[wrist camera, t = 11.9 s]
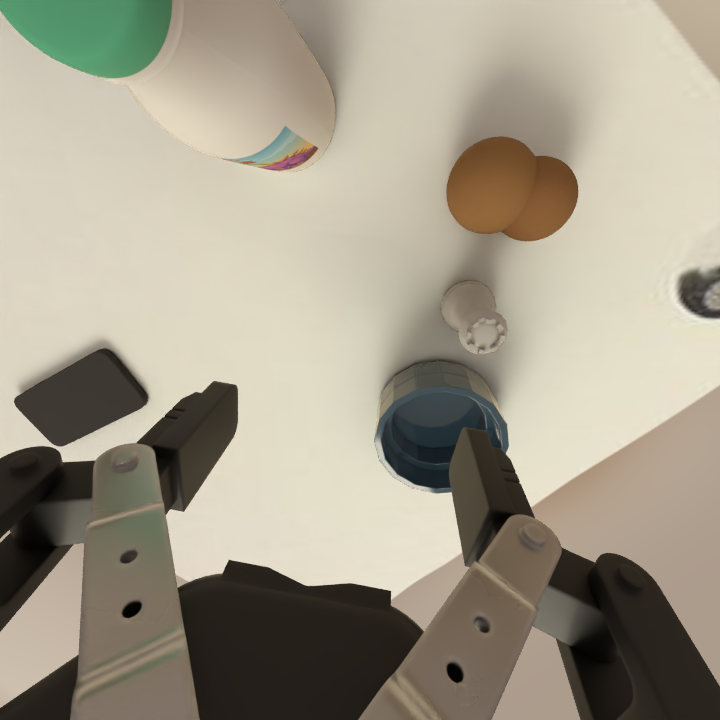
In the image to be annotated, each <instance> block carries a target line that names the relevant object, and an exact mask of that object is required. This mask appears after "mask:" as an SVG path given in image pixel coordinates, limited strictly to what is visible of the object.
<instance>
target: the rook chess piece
mask: <svg viewBox="0 0 720 720" xmlns="http://www.w3.org/2000/svg"><path fill="white" fill-rule="evenodd" d="M495 309H496V304H495V299H494V296H493V294H492V293H491V291H490V290H489V289H488V287H487V286H485V285H483V284H482V283H480V282H478V281H464V282H460V283H457V284H455V285H454V286H453V287H452V288H450V289H449V290H448V291H447V293H446V294H445V296H444V297H443V299H442V305H441V311H442V315H443V318H444V320H445V321H446V323H447V324H448V325H449V326H450V328H452V329H453V330H455V331H457V332H459V334H458V335H459V339H460V343H461V344H462V345H463V346H464V348H465V349H466V350H468V351H470V352H472V353H477V354H485V355H486V353H489V352H495V351H496V350H498V349H499V347H500V346H501V344H502V343H503V342H504V340H505V339H506V335H507V325H506V321H505V320H504V319H503V317H502V316H501V315H500V314H498V313H496V312H495Z"/></svg>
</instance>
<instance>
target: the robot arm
mask: <svg viewBox="0 0 720 720" xmlns="http://www.w3.org/2000/svg"><path fill="white" fill-rule="evenodd" d="M237 423H238V389H237V386H236V385H233V384H228V383H222V382H217V381H214V382H212V383H211V384H210V385H209V386H208V387H207V388H206V389H205V390H204V391H203V392H202V393H198V392H195V393H193V394H191V395H189V396H187V397H185V398H183V399H181V400H180V401H179V402H178V403H177V404H176V405H175V406H174V407H173V409H172V410H170V411H169V412H168V413H167V414H166V415H165V417H163V418H162V419H161V420H160V421H159V422H157V423H156V424H155V425H154V426H153V427H152V428H151V429H150V430H149V431H148V432H147V433H146V434H145V435H144V436H143V437H142V438H141V439H140V440H139V441H138V442H137V443H132V444H124V445H120V446H117V447H114V448H112V449H110V450H108V451H106V452H104V453H103V454H102V455H101V456H99V457H98V458H97V460H96V461H81V462H62V458H61V454H60V452H59V451H58V450H56V449H54V448H51V447H45V446H39V447H30V448H25V449H22V450H18V451H15V452H13V453H10V454H8V455H6V456H4V457H2V458H1V459H0V538H1V537H2V536H3V535H4V534H5V533H6V532H7V531H9V530H10V532H11V533H10V534H9V535H8V536H7V537H6V538H5V539H4V540H3V541H2V542H1V543H0V631H1V630H2V629H3V628H4V627H5V626H6V624H7V623H8V622H9V621H10V620H11V618H12V617H13V616H14V615H15V614H16V612H17V611H18V610H19V609H20V608H21V606H22V605H23V604H24V603H25V602H26V601H27V599H28V598H29V597H30V596H31V595H32V593H33V592H34V591H35V590H36V589H37V587H38V586H39V585H40V584H41V583H42V582H43V580H44V579H45V578H46V577H47V576H48V574H49V573H50V572H51V571H52V570H53V568H54V567H55V566H56V565H57V564H58V562H59V561H60V560H61V559H62V558H63V556H64V555H65V554H66V553H67V552H68V551H69V549H70V548H71V547H72V546H73V545H74V544H80V543H84V561H83V581H82V601H81V621H80V639H79V655H77V656H76V657H75V658H73V659H72V660H70V661H69V662H67V663H66V664H64V665H63V666H61V667H60V668H58V669H57V670H55V671H54V672H52V673H51V674H49V676H47V677H45V678H44V679H42V680H41V681H39V682H38V683H36V684H35V685H33V686H32V687H30V688H29V689H28V690H26V691H25V692H23V693H22V694H20V695H19V696H17V697H16V698H14V699H13V700H11V701H10V702H9V703H7V704H6V705H4V706H3V707H1V708H0V720H491V719H492V717H493V715H494V712H495V710H496V708H497V706H498V703H499V701H500V699H501V696H502V694H503V692H504V690H505V687H506V685H507V683H508V680H509V678H510V676H511V674H512V671H513V669H514V667H515V664H516V662H517V660H518V657H519V655H520V653H521V651H522V649H523V646H524V644H525V641H526V639H527V637H528V635H529V633H530V630H531V628H532V626H533V627H535V628H537V629H539V630H541V631H543V632H545V633H547V634H549V635H551V636H552V637H554V638H556V640H557V644H558V647H559V650H560V653H561V657H562V660H563V663H564V667H565V670H566V673H567V676H568V680H569V683H570V686H571V690H572V693H573V696H574V700H575V703H576V706H577V709H578V713H579V716H580V719H581V720H720V686H719V685H718V683H717V681H716V680H715V678H714V676H713V675H712V673H711V671H710V670H709V668H708V666H707V665H706V663H705V661H704V660H703V658H702V657H701V655H700V653H699V652H698V650H697V648H696V647H695V645H694V643H693V642H692V640H691V638H690V637H689V635H688V633H687V632H686V630H685V629H684V627H683V625H682V624H681V622H680V620H679V619H678V617H677V615H676V614H675V612H674V611H673V609H672V607H671V605H670V604H669V602H668V601H667V599H666V597H665V596H664V594H663V593H662V591H661V589H660V587H659V586H658V585H657V583H656V582H655V580H654V579H653V578H652V577H651V576H650V575H649V574H648V573H647V572H646V571H645V570H644V569H643V568H641V567H640V566H639V565H637V564H636V563H634V562H633V561H631V560H629V559H627V558H625V557H623V556H620V555H617V554H612V553H605V554H602V555H600V556H599V558H598V559H597V560H596V562H595V563H594V562H592V561H590V560H588V559H585V558H583V557H581V556H579V555H576V554H574V553H572V552H570V551H568V550H566V549H563V548H562V547H561V544H560V542H559V540H558V538H557V536H556V535H555V534H554V533H553V531H552V530H551V529H550V528H548V527H547V526H546V525H545V524H543V523H542V522H540V521H538V520H537V519H535V517H534V515H533V512H532V510H531V507H530V505H529V503H528V500H527V498H526V495H525V493H524V491H523V488H522V486H521V484H519V482H520V481H519V479H518V476H517V474H515V469H514V467H513V465H512V462H511V460H510V459H509V458H508V456H507V455H506V454H505V453H504V452H503V451H502V450H501V449H500V448H496V447H493V446H492V444H491V441H490V438H489V436H488V433H487V431H484V430H478V429H473V428H467V427H464V428H463V429H462V430H461V433H460V436H459V439H458V442H457V445H456V448H455V451H454V453H453V456H452V459H451V463H450V469H449V479H450V485H451V491H452V496H453V502H454V507H455V513H456V518H457V524H458V530H459V535H460V541H461V546H462V552H463V557H464V563H465V566H468V567H470V568H469V569H468V571H467V572H466V574H465V575H464V576H463V578H462V579H461V581H460V582H459V584H458V585H457V586H456V588H455V589H454V591H453V592H452V593H451V595H450V596H449V597H448V599H447V600H446V602H445V603H444V605H443V606H442V607H441V609H440V610H439V612H438V613H437V614H436V616H435V617H434V619H433V620H432V621H431V623H430V624H429V626H428V627H427V629H426V630H425V631H423V630H422V629H421V628H420V627H419V626H418V625H417V624H416V623H415V622H414V621H413V620H412V619H410V618H409V617H408V616H407V615H405V614H404V613H403V612H401V611H399V610H398V609H396V608H394V607H392V606H391V591H388V590H383V589H378V588H373V587H367V586H362V585H357V584H352V583H349V584H335V585H322V586H305V585H303V584H301V583H299V582H297V581H295V580H293V579H291V578H288V577H286V576H284V575H282V574H280V573H278V572H276V571H274V570H272V569H270V568H268V567H263V566H258V565H252V564H247V563H242V562H237V561H232V560H229V561H228V563H227V565H226V567H225V570H224V572H223V574H215V575H210V576H205V577H202V578H199V579H195V580H193V581H191V582H188V583H186V584H184V585H182V586H180V587H178V588H177V582H176V576H175V569H174V563H173V557H172V551H171V545H170V539H169V533H168V527H167V520H166V514H167V513H168V511H169V510H170V509H173V510H178V511H183V512H184V511H185V509H186V508H187V506H188V505H189V503H190V502H191V500H192V499H193V497H194V496H195V494H196V493H197V491H198V490H199V488H200V487H201V485H202V484H203V482H204V481H205V479H206V478H207V476H208V475H209V473H210V472H211V470H212V469H213V467H214V466H215V464H216V463H217V461H218V460H219V458H220V457H221V455H222V454H223V452H224V451H225V449H226V448H227V446H228V445H229V443H230V442H231V440H232V439H233V437H234V435H235V432H236V429H237Z"/></svg>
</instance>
